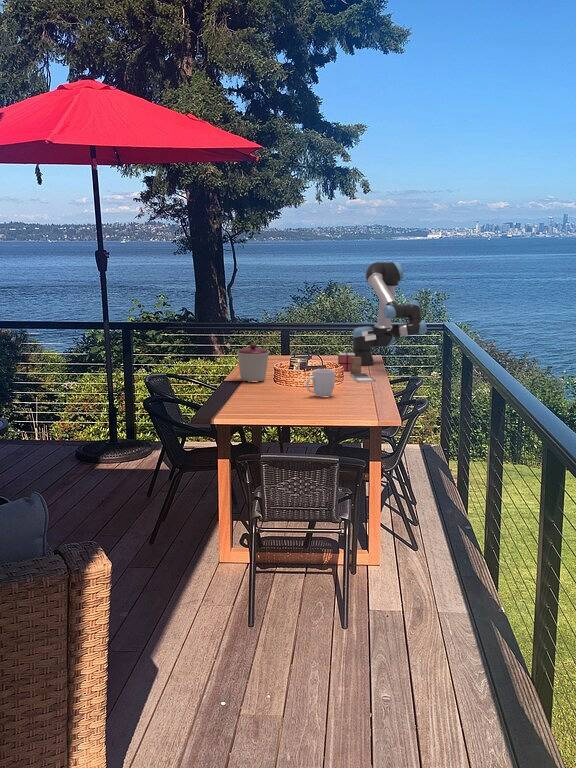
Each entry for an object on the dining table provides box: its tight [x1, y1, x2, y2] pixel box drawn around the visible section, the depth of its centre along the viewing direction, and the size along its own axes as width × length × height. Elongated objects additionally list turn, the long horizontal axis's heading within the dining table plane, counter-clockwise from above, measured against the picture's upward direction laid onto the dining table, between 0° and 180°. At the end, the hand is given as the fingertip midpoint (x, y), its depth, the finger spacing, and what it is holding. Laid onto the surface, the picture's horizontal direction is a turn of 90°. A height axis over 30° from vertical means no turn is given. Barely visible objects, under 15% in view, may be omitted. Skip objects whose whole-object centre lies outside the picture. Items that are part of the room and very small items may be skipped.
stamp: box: [350, 357, 362, 374], centre depth 465 cm, size 5×5×10 cm
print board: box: [351, 376, 377, 383], centre depth 446 cm, size 11×11×1 cm
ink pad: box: [349, 372, 370, 378], centre depth 457 cm, size 9×9×1 cm
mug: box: [305, 368, 336, 397], centre depth 399 cm, size 15×11×13 cm
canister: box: [236, 343, 270, 382], centre depth 440 cm, size 18×18×21 cm
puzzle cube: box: [337, 352, 356, 373], centre depth 479 cm, size 10×10×10 cm
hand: (363, 336), depth 468 cm, fingers open, 13 cm apart
